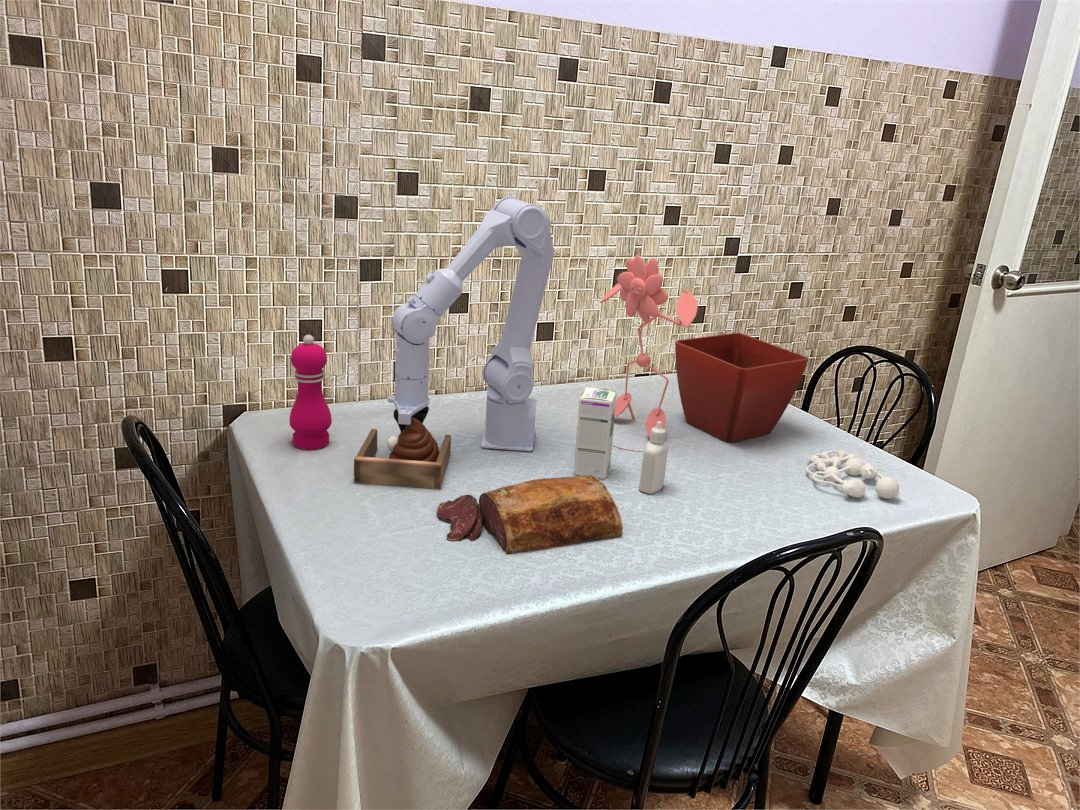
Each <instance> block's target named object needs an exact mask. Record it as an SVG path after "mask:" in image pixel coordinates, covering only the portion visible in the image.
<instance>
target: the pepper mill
mask: <svg viewBox="0 0 1080 810" xmlns="http://www.w3.org/2000/svg"><path fill="white" fill-rule="evenodd" d="M302 341H303V343H299V344H298V345H297V346H295V347H294V348H293V350H292V352H291V355H290V362H291V365H292V366H293V367H294V369H295V370H294V371H293V372H294V373H293V374H294V380H295V381H296V384H297V392H296V397H295V399H294V400H295V401H294V403H293V404H292V405H293V406H292V407H291V409H290V412H289V426H290V428H291V429H292V430H293V431H294V432H293V433H292V445H293V446H294V447H296V448H298V449H301V450H305V451H307V450H312V451H313V450H319V449H324V448H325V447H326V446H328V445H329V443H330V432H329V431H328V430H329V428H331V426H332V421H333V420H332V413H331V410H330V407H329V406H328V403H327V401H326V399H325V396H324V393H323V381H324V380H325V370H324V368H325V367H326V365H327V362H328V355H327V352H326V350H325V349H324V348H323V346H321V345H320V344H319V343H318V344H317V343H314V341H315V338H314V337H313V336H312V335H311V334H306V335H304V336H303V339H302Z"/></svg>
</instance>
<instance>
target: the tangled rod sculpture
mask: <svg viewBox="0 0 1080 810" xmlns="http://www.w3.org/2000/svg"><path fill="white" fill-rule="evenodd" d="M832 453H836V454H837V456H831V457H829V454H832ZM806 460H807V461H809V462H810V464H809V465H807V466H806V467H805V469H804V470H805V472H806V473H808V474H810V475H811V476H812V480H813V481H814V482H817V483H821V484H825V485H832V486H834V487H837V488H841V490H842V492H843V493H845V494H846V495H848V496H850V497H851V498H854V499H855V498H857V499H858V498H861V497H863V496H864V494H865V493H866V490H867V489H866V488H867V487H866V485H865V483H864V482H863V481H862V480H861V479H860V478H851V479H849V480H847V479H844V480H843V479H842V478H841V476H842V473H843V472H846V473H847V474H848V475H850V476H853V477H856V476H859V475H860V476H861V477H862V478H864V479H867V480H868V479H870V480H871V479H873V478H874V477H875V476H876V477H877V478H879V479H878V480H877V481H876V483H875V491H876V494H878V496H879V497H881V498H882V499H889V500H890V499H892V498H895V497H896V496H897V495H898V493H899V491H900V485H899V483H898V482H897V480H896V479H895V478H894V477H892V476H884V475H883V474H882V473H883V472H885V471H886V469H885V468H883V467H882V468H881V467H875V466H874V465H873V464H872V463H869V462H867V461H866V460H864V459H862V458H859V457H858V456H856V455H855V454H854V453H847V452H846V451H845V450H835V449H832V450H830V451H821V452H820V453H815V454H812V455H810V456H807V457H806ZM843 461H845V462H844V466H843V467H842V468H840V469H839V467H840V466H841V464H842V462H843ZM827 464H829V465H830V466H828V467H827ZM813 466H814V467H815V468H816V469H817V471H814V472H813V471H811V470H809V469H810V468H812V467H813ZM879 471H881V473H880V472H879ZM822 479H824V480H822ZM838 483H839V484H838Z"/></svg>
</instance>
